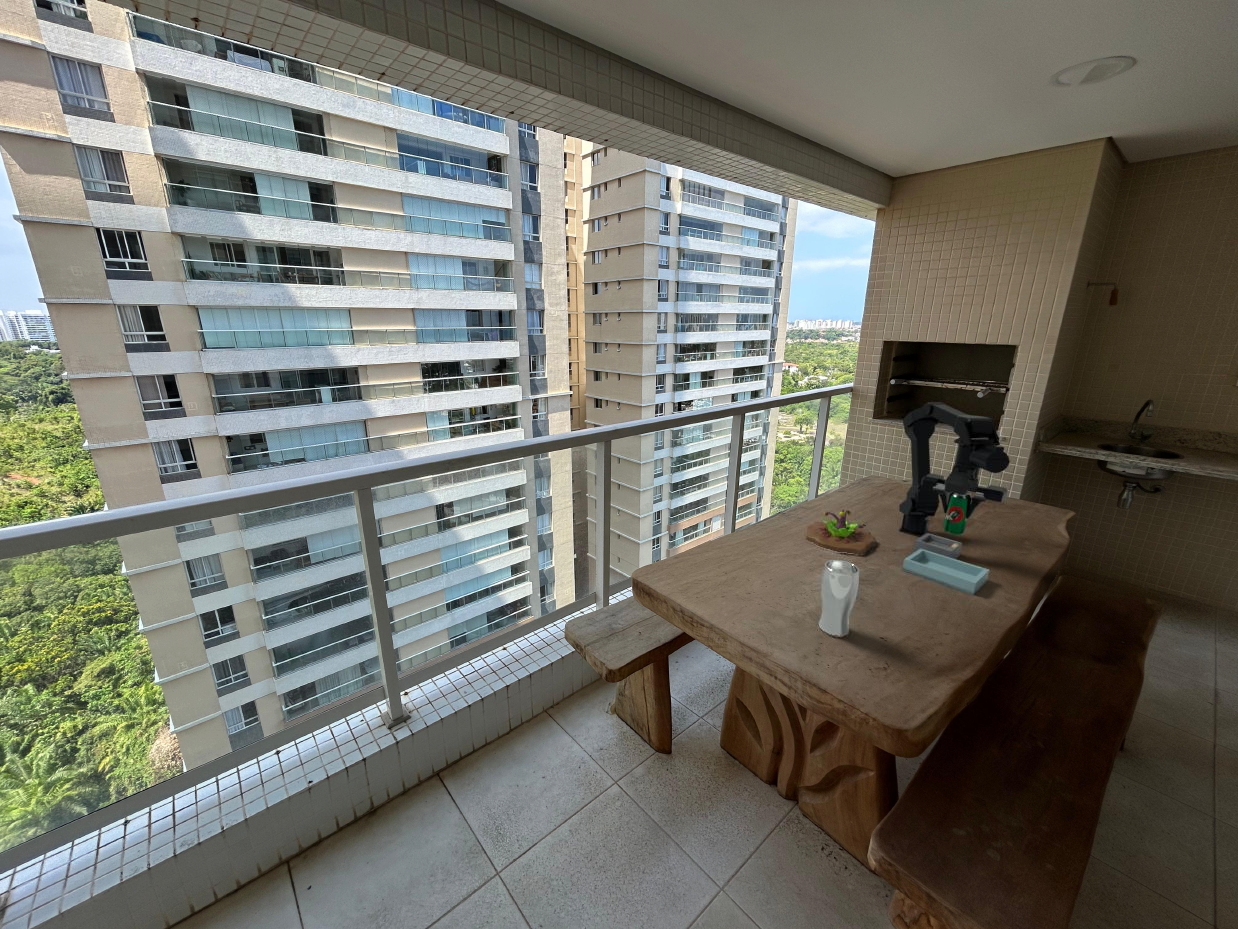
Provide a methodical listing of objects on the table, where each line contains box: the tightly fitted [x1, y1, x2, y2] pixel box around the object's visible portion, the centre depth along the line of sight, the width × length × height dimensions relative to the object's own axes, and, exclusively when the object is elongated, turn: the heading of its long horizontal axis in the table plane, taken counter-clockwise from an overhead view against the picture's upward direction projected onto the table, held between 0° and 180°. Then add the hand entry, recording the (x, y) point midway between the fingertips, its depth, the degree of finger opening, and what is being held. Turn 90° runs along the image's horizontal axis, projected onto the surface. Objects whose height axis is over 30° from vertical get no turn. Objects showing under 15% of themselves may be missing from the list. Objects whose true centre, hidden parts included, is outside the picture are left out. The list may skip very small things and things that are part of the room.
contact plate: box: [927, 540, 951, 549], centre depth 133 cm, size 6×6×2 cm
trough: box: [902, 549, 990, 596], centre depth 120 cm, size 16×11×3 cm
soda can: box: [942, 491, 973, 536], centre depth 128 cm, size 5×5×12 cm
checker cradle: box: [912, 532, 963, 560], centre depth 133 cm, size 9×9×4 cm
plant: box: [805, 509, 877, 556], centre depth 141 cm, size 20×20×11 cm
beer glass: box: [818, 559, 860, 636], centre depth 97 cm, size 7×7×15 cm
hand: (956, 515), depth 129 cm, fingers closed on soda can, 5 cm apart
